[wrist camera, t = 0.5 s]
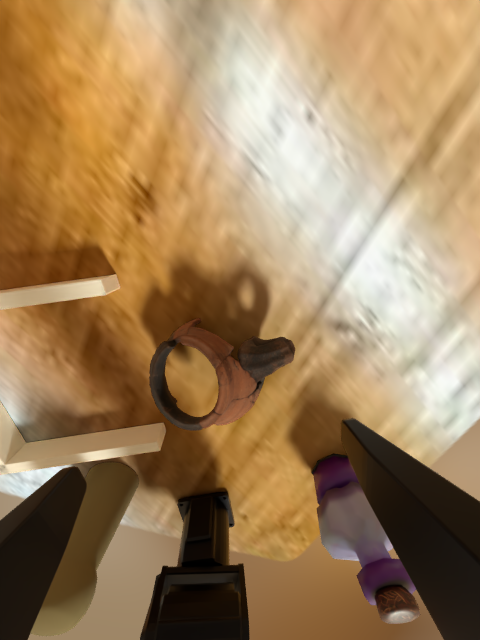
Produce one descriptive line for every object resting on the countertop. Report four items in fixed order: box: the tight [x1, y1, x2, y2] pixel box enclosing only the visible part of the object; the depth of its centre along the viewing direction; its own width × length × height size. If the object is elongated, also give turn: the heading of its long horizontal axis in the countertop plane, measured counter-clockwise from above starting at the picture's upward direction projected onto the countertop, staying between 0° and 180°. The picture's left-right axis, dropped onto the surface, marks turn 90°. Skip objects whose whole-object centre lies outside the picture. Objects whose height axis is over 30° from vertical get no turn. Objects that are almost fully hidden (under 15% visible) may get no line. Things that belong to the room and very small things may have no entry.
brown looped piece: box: [149, 318, 295, 430], centre depth 20 cm, size 12×10×8 cm
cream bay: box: [0, 274, 166, 475], centre depth 21 cm, size 17×16×2 cm
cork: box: [31, 462, 139, 636], centre depth 22 cm, size 6×6×11 cm
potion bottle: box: [312, 454, 420, 624], centre depth 23 cm, size 9×9×12 cm
